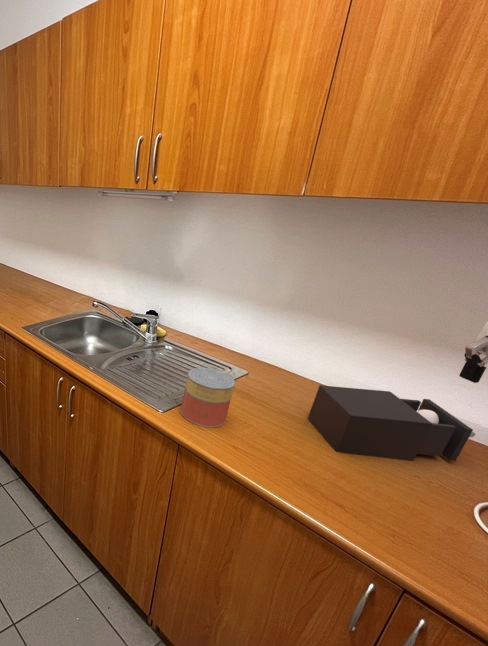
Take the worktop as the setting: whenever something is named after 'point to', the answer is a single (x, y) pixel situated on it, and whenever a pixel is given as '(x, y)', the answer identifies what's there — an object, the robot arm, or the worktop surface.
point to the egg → (429, 415)
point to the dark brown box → (368, 422)
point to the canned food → (207, 397)
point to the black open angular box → (442, 432)
